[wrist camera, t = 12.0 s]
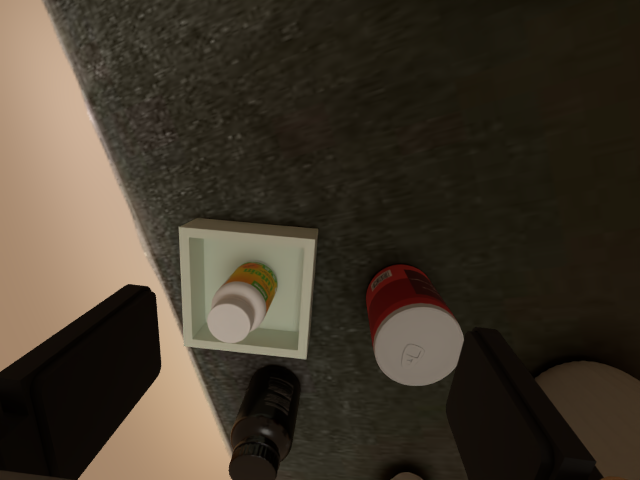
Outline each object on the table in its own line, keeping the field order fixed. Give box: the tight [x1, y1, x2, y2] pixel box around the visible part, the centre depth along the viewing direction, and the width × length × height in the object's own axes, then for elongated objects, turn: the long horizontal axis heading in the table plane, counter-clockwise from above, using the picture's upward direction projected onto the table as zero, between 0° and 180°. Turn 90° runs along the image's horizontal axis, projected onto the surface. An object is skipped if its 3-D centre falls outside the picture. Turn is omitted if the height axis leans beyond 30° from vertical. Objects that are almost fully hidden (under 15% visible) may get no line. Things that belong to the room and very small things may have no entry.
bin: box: [179, 218, 318, 359], centre depth 37 cm, size 14×14×4 cm
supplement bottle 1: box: [207, 261, 278, 343], centre depth 34 cm, size 5×5×10 cm
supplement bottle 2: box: [229, 366, 300, 480], centre depth 38 cm, size 7×7×12 cm
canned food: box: [366, 264, 464, 386], centre depth 33 cm, size 8×8×11 cm
